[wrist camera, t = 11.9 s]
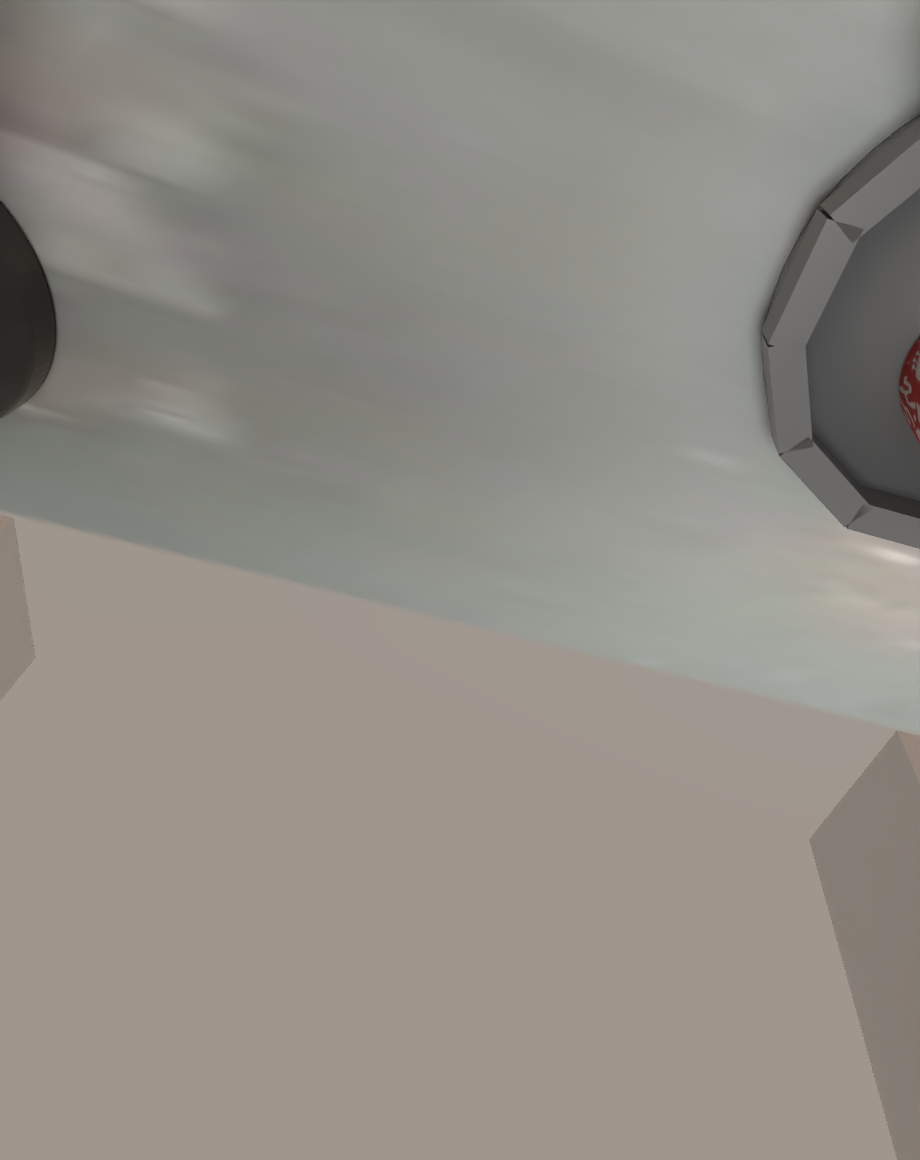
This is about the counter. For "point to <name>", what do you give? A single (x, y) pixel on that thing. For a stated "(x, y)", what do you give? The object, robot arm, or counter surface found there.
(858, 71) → the counter surface
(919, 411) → the mug
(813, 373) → the tray
